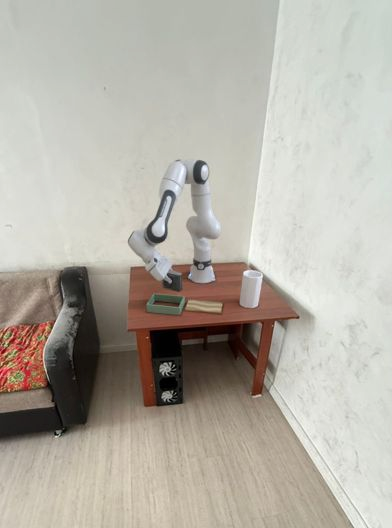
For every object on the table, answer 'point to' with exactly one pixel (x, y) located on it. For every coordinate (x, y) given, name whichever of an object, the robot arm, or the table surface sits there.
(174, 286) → the camera
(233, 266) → the table surface
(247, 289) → the cup
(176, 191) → the robot arm
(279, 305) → the table surface
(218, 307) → the board
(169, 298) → the bin
